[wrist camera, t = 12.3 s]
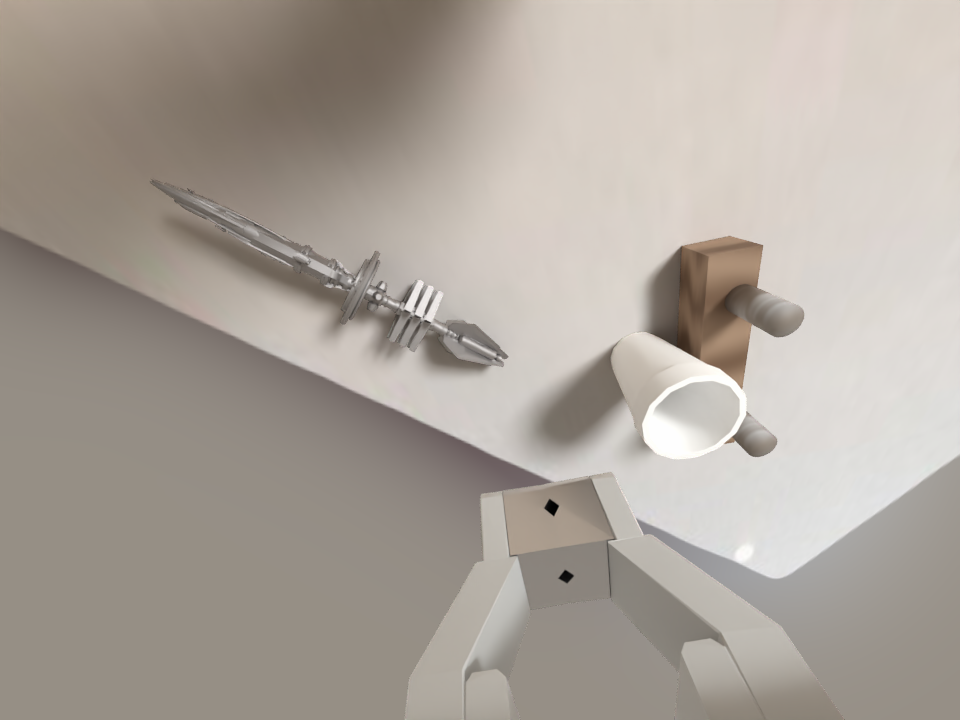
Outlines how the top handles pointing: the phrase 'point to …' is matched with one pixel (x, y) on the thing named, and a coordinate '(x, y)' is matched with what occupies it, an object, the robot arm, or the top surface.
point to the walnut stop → (730, 316)
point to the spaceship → (351, 283)
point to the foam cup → (676, 397)
